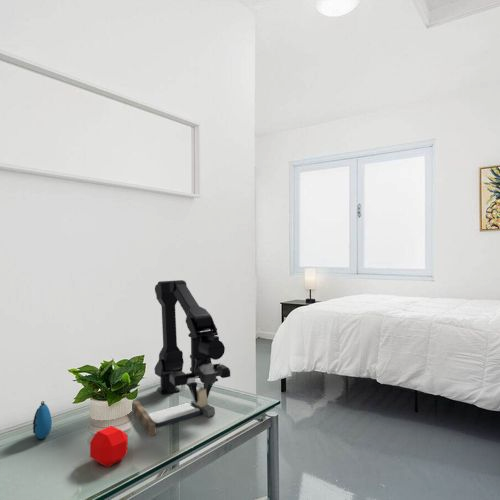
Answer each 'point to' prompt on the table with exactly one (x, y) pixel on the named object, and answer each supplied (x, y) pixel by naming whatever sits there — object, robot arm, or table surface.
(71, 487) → the table surface
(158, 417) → the smartphone
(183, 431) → the table surface
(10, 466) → the table surface
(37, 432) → the ornament
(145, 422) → the walnut bar
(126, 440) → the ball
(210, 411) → the scraper
